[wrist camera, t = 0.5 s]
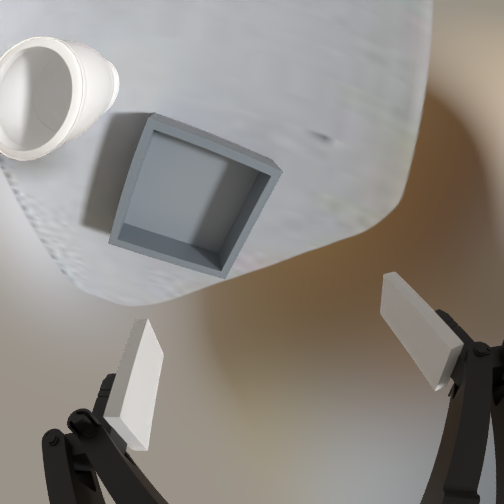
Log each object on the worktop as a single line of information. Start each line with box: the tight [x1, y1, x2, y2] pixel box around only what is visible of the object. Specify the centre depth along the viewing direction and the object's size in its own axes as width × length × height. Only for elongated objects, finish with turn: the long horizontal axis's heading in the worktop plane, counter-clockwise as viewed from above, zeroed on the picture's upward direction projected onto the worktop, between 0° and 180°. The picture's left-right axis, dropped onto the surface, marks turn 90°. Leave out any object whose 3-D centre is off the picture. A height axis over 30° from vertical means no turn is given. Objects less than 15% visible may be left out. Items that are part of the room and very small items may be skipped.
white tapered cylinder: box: [0, 36, 119, 161], centre depth 21 cm, size 11×10×15 cm
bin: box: [108, 113, 283, 279], centre depth 35 cm, size 16×16×5 cm
